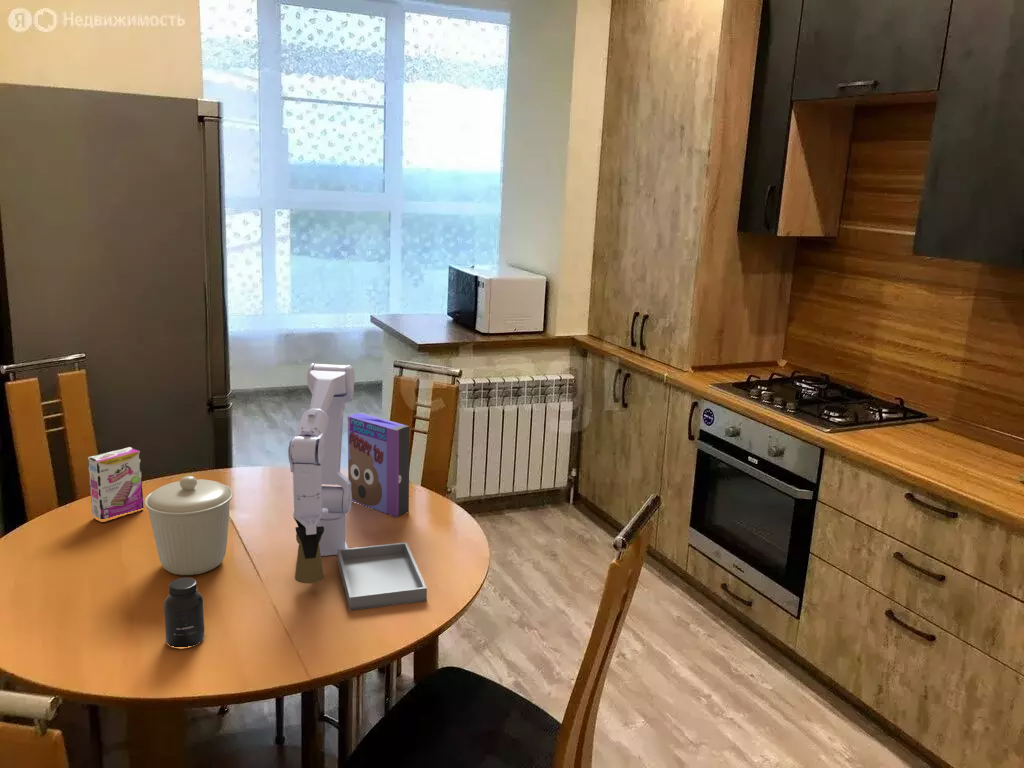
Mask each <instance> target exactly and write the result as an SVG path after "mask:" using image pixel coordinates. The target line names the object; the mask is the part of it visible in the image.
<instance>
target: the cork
mask: <svg viewBox="0 0 1024 768" xmlns="http://www.w3.org/2000/svg"><path fill="white" fill-rule="evenodd" d="M295 539H296V543H297V544H298V548H297V549H298V550H297V558H296V566H295V575H294V580H295V581H296V582H299V583H301V584H313V583H319V582H320V581H322V580H323V579H324V578H325V574H324V568H323V561H322V556H321V554H320V547H319V544H318V549H317V554H316V557H315V558H309V559H306V558H305V556H304V552H303V547H302V543H301V540H300V538H299V537H298V535H297V533H296V534H295ZM320 541H321V538H320V540H319V542H320Z"/></svg>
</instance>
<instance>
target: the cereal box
mask: <svg viewBox="0 0 1024 768" xmlns="http://www.w3.org/2000/svg"><path fill="white" fill-rule="evenodd" d="M410 434H411V433H410V425H407V424H403V423H399V422H395V421H392V420H389V419H384V418H381V417H377V416H373V415H370V414H367V413H363V412H357V413H353V414H351V415H348V416H347V456H348V457H347V465H348V466H347V467H348V470H347V473H348V477H347V478H348V479H349V480H350V482H351V491H352V501H353V502H352V503H354V502H356V503H355V504H357V503H359V504H358V505H360V504H361V506H362V505H363V506H362V507H365V506H366V508H368V507H369V508H368V509H371V508H372V509H371V510H374V511H377V512H379V513H382V514H384V513H385V515H387V516H390V515H391V516H390V517H393V516H394V517H393V518H395V517H396V519H397V518H399V517H402V516H403V514H404V515H406V514H407V512H408V513H409V511H410V510H409V509H410V507H409V505H410V503H409V502H410ZM405 513H406V514H405Z"/></svg>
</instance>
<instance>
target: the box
mask: <svg viewBox="0 0 1024 768" xmlns="http://www.w3.org/2000/svg"><path fill="white" fill-rule="evenodd" d="M336 557H337V565H338V569H339V573H340V578H341V580H342V581H341V582H342V585H343V588H344V593H345V597H346V600H347V605H348V609H349V611H350V612H351V611H359V610H366V609H367V610H368V609H375V608H382V607H390V606H397V605H403V604H404V605H405V603H407V604H413V603H420V602H421V601H422V602H427V597H428V596H427V595H428V587H427V585H426V583H425V581H424V578H423V576H422V574H421V571H420V569H419V567H418V565H417V561H416V560H415V558H414V555H413V553H412V551H411V549H410V547H409V544H408V542H397V543H396V542H395V543H388V544H387V543H386V544H377V545H369V546H361V547H360V546H359V547H357V546H356V547H351V548H349V547H348V548H347V549H338V550H337V555H336Z"/></svg>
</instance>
